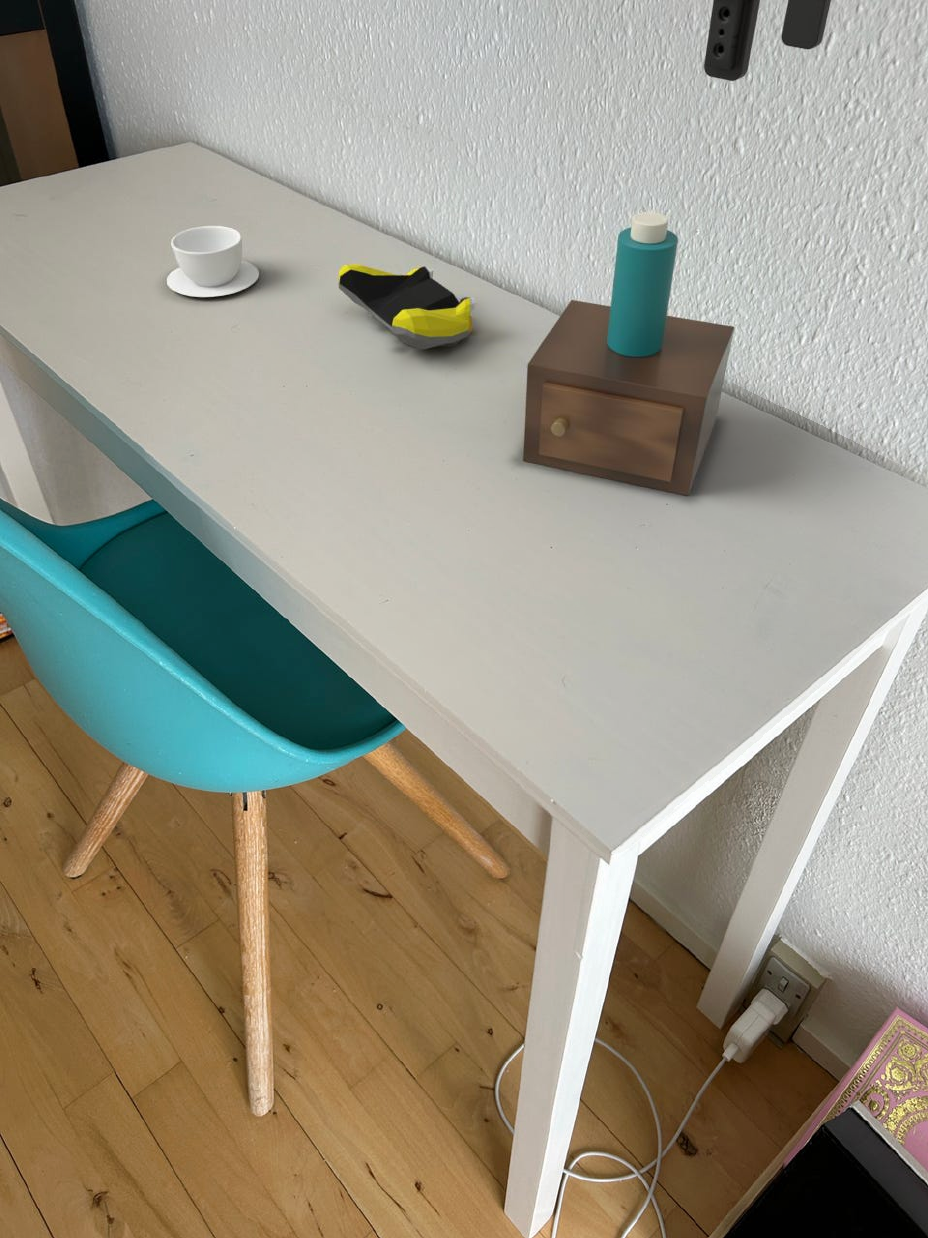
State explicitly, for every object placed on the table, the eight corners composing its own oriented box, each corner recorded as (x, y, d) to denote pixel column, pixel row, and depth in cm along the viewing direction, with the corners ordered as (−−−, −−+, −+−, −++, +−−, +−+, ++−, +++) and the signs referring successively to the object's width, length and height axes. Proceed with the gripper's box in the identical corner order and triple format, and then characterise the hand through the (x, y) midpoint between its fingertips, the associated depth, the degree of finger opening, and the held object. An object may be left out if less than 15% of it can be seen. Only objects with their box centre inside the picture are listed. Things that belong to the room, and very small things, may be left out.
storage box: (715, 421, 86) (734, 326, 80) (684, 505, 77) (703, 405, 71) (564, 392, 90) (571, 299, 84) (517, 469, 81) (521, 371, 75)
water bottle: (667, 336, 79) (686, 211, 72) (655, 361, 76) (673, 233, 69) (614, 327, 80) (628, 203, 73) (600, 351, 77) (613, 224, 70)
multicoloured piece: (405, 375, 92) (493, 348, 96) (402, 321, 89) (494, 294, 93) (333, 314, 102) (416, 291, 106) (328, 262, 98) (414, 241, 102)
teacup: (272, 288, 106) (266, 246, 103) (182, 308, 103) (173, 265, 99) (242, 255, 113) (235, 214, 109) (156, 273, 109) (147, 231, 106)
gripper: (850, -365, 37) (761, 104, 48) (987, -354, 45) (883, 47, 56) (679, -358, 40) (634, 76, 52) (834, -349, 48) (765, 26, 59)
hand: (763, 60), depth 54 cm, fingers open, 8 cm apart
